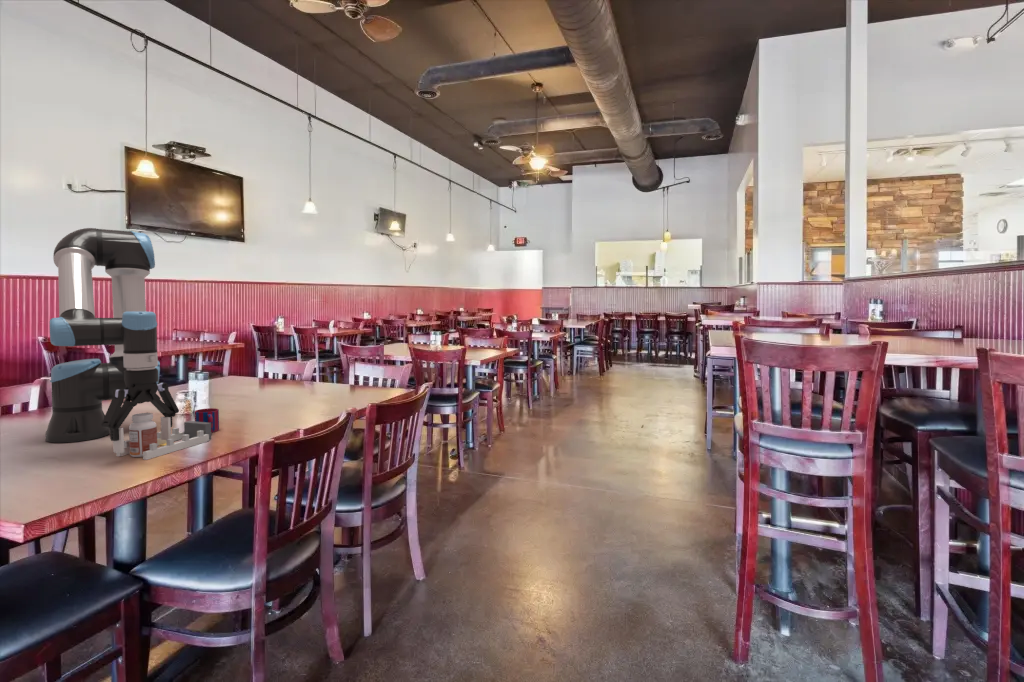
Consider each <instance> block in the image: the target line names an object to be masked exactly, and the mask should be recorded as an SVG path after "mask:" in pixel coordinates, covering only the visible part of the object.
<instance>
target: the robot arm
mask: <svg viewBox="0 0 1024 682" xmlns="http://www.w3.org/2000/svg"><path fill="white" fill-rule="evenodd" d="M52 256H53V257H52V259H53V263H54V265H55V266H56V268H57V270H58V271H57V272H58V273H57V275H58V278H57V279H58V317H52V318H50V319H49V338H50V339H49V340H50V343H51V345H53V346H55V347H83V346H84V347H87V346H114V352H113V353H112V354H110V356H109V357H108V358H109V359H108V362H102V361H101V359H100V358H86V359H79V360H72V361H68V362H67V361H66V362H62V363H61V362H60V363H59V364H56V365H54V366H53V367H52V368H51V372H50V380H49V382H50V385H51V410H52V411H51V412H52V413H51V417H50V420H49V423H48V426H47V427H46V431H45V441H46V442H47V443H62V444H63V443H75V442H83V441H90V440H95V439H100V438H102V437H105V436H108V435H109V437H110V441H111V442H112V448H113V453H115V454H116V453H124V441H125V437H124V435H125V434H124V427H121V426H122V425H123V424H124V422H125V420H126V419H127V417H129V415H130V413H131V412H132V410H133V409H134V407H137V405H138V404H139V405H140V404H144V403H151V404H152V405H153V407H154V408H155V409H157V410H158V412H160V414H162V415H163V416H160V432H161V440H167V439H171V434H172V428H173V417H176V416H177V415H176V414H179V412H180V410H179V408H178V405H177V403H176V402H175V399H174V398H173V396H172V395H171V392H170V390H169V384H168V383H167V382H160V375H161V373H160V372H161V367H160V365H161V363H160V360H158V357H159V356H158V328H157V327H158V321H157V314H156V312H154V311H147V306H146V305H147V303H146V283H145V280H146V279H145V278H146V277H148V276H149V275H150V274H151V270H152V269H155V267H156V262H155V261H156V260H155V253H154V247H153V244H152V240H151V238H150V236H149V235H148V234H146V233H143V232H136V231H132V230H130V231H128V230H117V229H103V228H96V227H95V228H94V227H86V228H80V229H78V230H74V231H72V232H70V233H67V234H66V235H65V236H63V238H61V239H60V240H59V241H58V242H57V244H56V246H55V247H54V250H53V255H52ZM95 266H97V267H105V270H104V271H105V273H106V274H107V275H108V276H110V278H111V290H112V308H113V309H112V313H113V314H112V316H113V317H96V313H95V311H96V310H95V299H94V286H93V272H92V270H93V268H94V267H95ZM157 392H158V394H159V395H158V394H157ZM161 399H162V400H161ZM103 401H110V404H109V406H108V408H107V411H106V413H105V412H104V410H103Z"/></svg>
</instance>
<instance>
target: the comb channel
mask: <svg viewBox="0 0 1024 682" xmlns="http://www.w3.org/2000/svg"><path fill="white" fill-rule="evenodd" d="M183 425H184V428H183V429H184V431H180V428H178V427H174V428H173V427H172V428H171V439H167V440H161V431H157V443H152V444H149V445H150V450H148V451H144V452H143V457H142V459H143V460H144V461H145V460H150V459H151V460H152V459H154V458H158V457H161V456H164V455H167V454H170V453H175V452H177V451H180V450H184V449H187V448H190V447H191V448H192V447H194V446H197V445H200V444H204V443H207V442H209V441H210V440H212V433H211V423H207V422H196V421H195V420H188V421H184V422H183ZM115 455H116V457H122V456H127V455H130V443H129V439H127V440H124V453H115Z"/></svg>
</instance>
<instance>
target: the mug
mask: <svg viewBox="0 0 1024 682" xmlns="http://www.w3.org/2000/svg"><path fill="white" fill-rule="evenodd" d="M194 421H196V422H207V423H211V434H212V433H215V432H218V431H219V430H220V411H219V408H216V407H215V408H214V407H212V408H211V407H210V408H200V409H196V410H194Z"/></svg>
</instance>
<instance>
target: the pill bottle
mask: <svg viewBox="0 0 1024 682" xmlns="http://www.w3.org/2000/svg"><path fill="white" fill-rule="evenodd" d="M131 421H132V423H130V424H129V426H128V434H129V435H128V438H129V439H128V440H129V443H130V454H129V456H130V457H133V458H143V452H144V451H148V450H150V445H149V444H152V443H157V432H158V429H157V428H158V427H157V426H158V425H157V423H156V422H155V421H154V413H153V412H141V413H135V414H132V415H131Z"/></svg>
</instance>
